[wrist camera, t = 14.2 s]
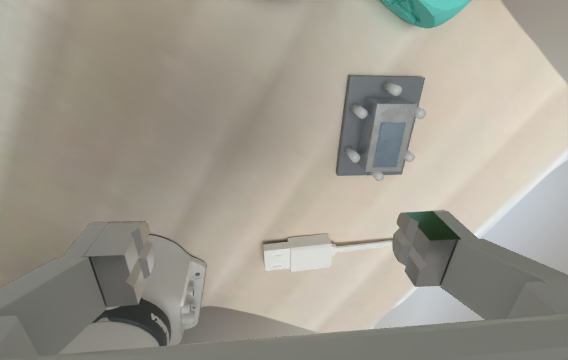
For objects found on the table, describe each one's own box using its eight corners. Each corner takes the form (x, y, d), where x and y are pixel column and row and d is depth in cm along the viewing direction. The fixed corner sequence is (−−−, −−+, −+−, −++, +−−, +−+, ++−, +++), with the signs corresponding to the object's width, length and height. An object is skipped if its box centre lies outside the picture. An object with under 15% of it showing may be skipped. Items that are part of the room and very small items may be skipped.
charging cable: (436, 242, 55) (448, 254, 52) (263, 262, 51) (265, 276, 48) (442, 219, 53) (455, 231, 50) (262, 239, 48) (264, 252, 45)
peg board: (398, 171, 46) (411, 183, 42) (336, 172, 44) (343, 185, 41) (421, 76, 39) (438, 81, 36) (348, 75, 38) (358, 79, 34)
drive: (388, 159, 43) (401, 171, 40) (355, 160, 43) (365, 172, 39) (401, 97, 39) (417, 104, 35) (365, 96, 39) (377, 104, 35)
